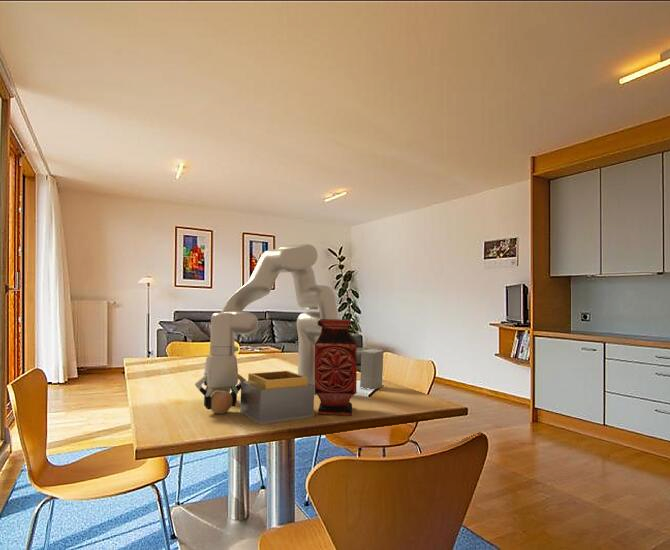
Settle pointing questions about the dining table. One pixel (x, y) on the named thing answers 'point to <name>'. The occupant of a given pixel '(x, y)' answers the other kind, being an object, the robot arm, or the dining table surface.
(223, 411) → the fruit
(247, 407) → the box
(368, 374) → the skincare box
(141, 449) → the dining table surface
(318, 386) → the vase
